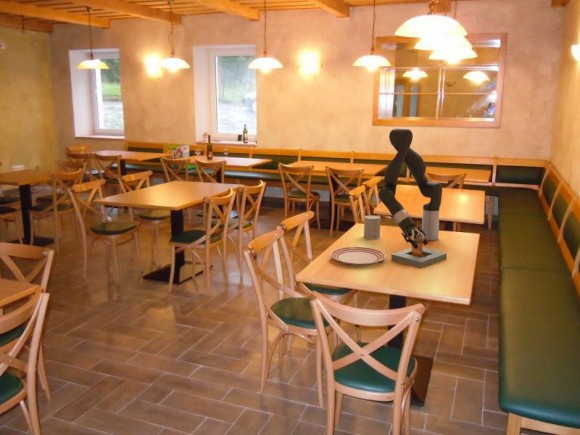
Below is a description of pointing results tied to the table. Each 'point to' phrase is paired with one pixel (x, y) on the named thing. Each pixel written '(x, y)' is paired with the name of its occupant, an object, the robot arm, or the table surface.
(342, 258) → the dinner plate
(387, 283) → the table surface
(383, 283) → the table surface
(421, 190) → the robot arm
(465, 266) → the table surface
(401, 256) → the grey rectangular frame
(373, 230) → the speckled tan cylinder
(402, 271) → the table surface
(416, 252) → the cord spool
